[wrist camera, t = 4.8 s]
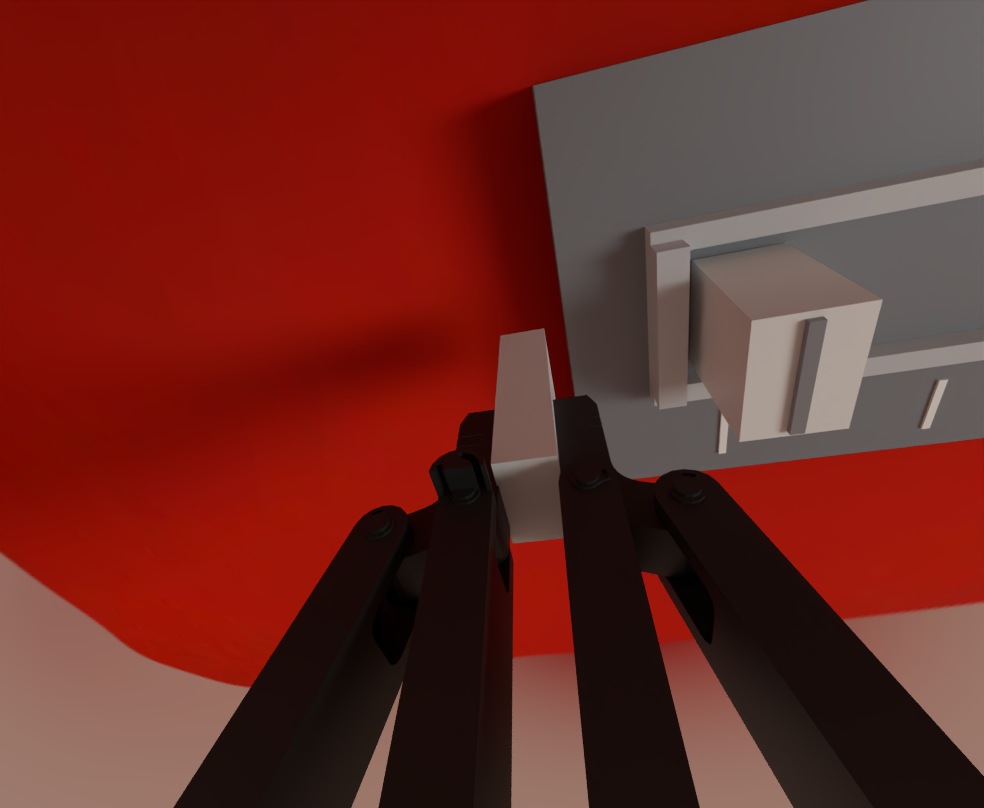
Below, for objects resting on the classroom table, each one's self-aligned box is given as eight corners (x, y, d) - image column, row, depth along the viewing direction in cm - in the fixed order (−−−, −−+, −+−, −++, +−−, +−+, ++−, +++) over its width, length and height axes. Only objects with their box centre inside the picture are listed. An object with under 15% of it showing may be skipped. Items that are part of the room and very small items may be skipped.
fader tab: (691, 259, 16) (754, 324, 12) (786, 242, 15) (888, 302, 11) (689, 361, 18) (742, 446, 14) (771, 348, 18) (852, 432, 13)
